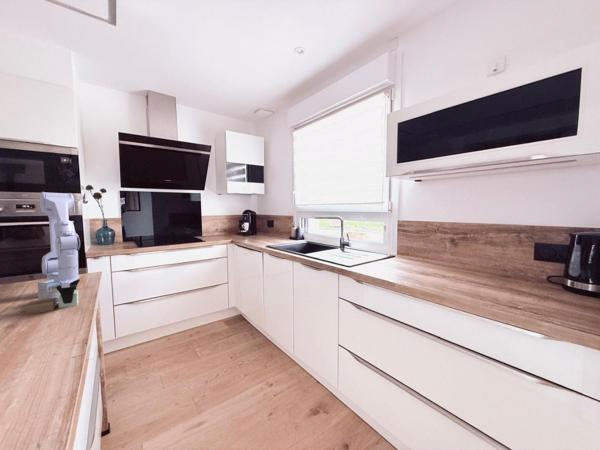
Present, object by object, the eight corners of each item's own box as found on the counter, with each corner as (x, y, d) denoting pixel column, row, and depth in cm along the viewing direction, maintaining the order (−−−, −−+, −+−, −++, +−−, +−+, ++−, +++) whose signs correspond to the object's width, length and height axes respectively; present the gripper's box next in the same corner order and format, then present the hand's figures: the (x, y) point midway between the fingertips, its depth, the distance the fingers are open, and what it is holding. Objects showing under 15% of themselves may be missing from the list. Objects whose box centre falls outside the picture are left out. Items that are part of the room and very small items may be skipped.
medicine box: (46, 304, 94) (46, 283, 94) (38, 303, 95) (37, 282, 95) (69, 297, 102) (69, 277, 102) (61, 296, 103) (60, 276, 103)
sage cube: (61, 304, 96) (61, 291, 95) (78, 301, 99) (78, 289, 98) (59, 308, 92) (58, 295, 91) (76, 305, 95) (76, 293, 94)
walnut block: (30, 308, 91) (30, 300, 91) (56, 304, 96) (56, 297, 96) (25, 315, 86) (25, 307, 86) (53, 311, 90) (52, 303, 90)
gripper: (57, 264, 98) (58, 296, 99) (49, 272, 86) (50, 309, 87) (81, 262, 102) (82, 293, 103) (76, 269, 90) (76, 305, 91)
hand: (69, 300), depth 95 cm, fingers closed on sage cube, 5 cm apart
